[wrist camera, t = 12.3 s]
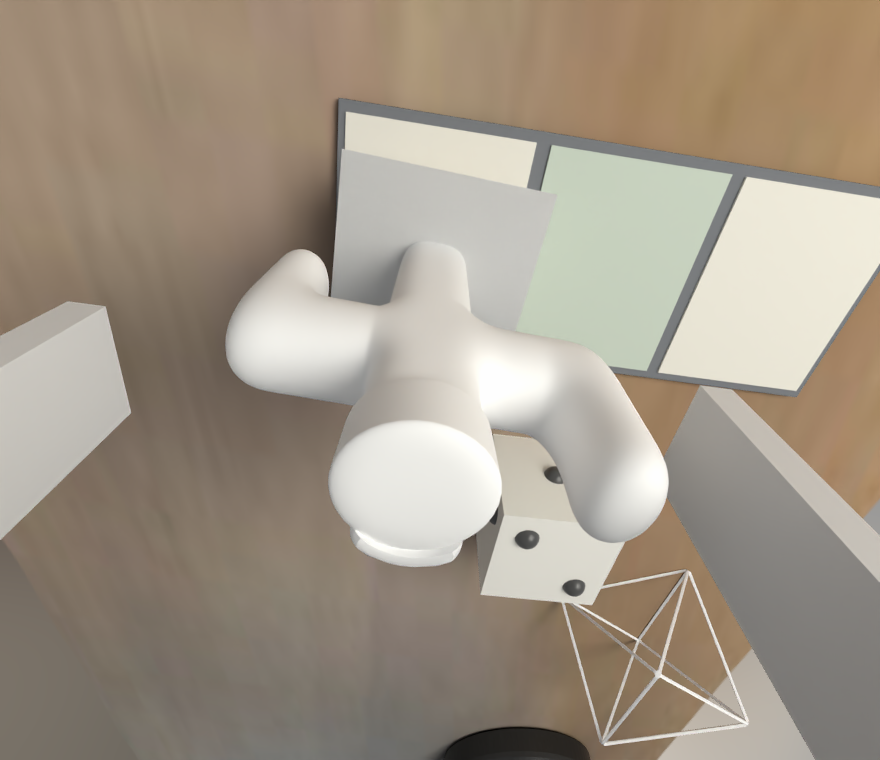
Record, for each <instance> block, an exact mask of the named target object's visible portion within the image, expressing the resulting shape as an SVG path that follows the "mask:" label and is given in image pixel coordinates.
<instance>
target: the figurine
mask: <svg viewBox="0 0 880 760" xmlns="http://www.w3.org/2000/svg"><path fill="white" fill-rule="evenodd" d="M556 198H557V195H556V194H552V193H547V192H542V191H538V190H533V189H528V188H524V187H519V186H514V185H510V184H505V183H500V182H496V181H491V180H486V179H482V178H477V177H472V176H468V175H463V174H458V173H454V172H449V171H444V170H439V169H435V168H430V167H425V166H421V165H416V164H411V163H407V162H402V161H397V160H393V159H388V158H383V157H379V156H374V155H369V154H365V153H360V152H355V151H351V150H346V149H342V154H341V168H340V181H339V194H338V208H337V221H336V235H335V248H334V262H333V275H332V289H331V297H328V293H329V280H328V274H327V270H326V267H325V265H324V263H323V262H322V260H321V259H320V258H319V257H318V256H317V255H316V254H314V253H313V252H311V251H308V250H304V249H298V250H293V251H291V252H288V253H287V254H285V255H284V256H283V257H282V258H281V259H280V260H279V261H278V262H277V263H275V264H274V265H273V266H272V267H271V268H270V269H269V270H268V271H267V272H266V273H265V274H264V275H263V276H262V277H261V278H260V279H259V280H258V281H257V282H256V283H255V284H254V285H253V286H252V287H251V288H250V289H249V290H248V291H247V293H246V294H245V295H244V296H243V298H242V299H241V300H240V302H239V303H238V305H237V307H236V308H235V310H234V312H233V314H232V317H231V319H230V322H229V324H228V329H227V334H226V342H225V347H226V355H227V360H228V363H229V365H230V367H231V369H232V370H233V372H234V373H235V374H236V376H237V377H238V378H240V379H241V380H242V381H243V382H245V383H246V384H248V385H250V386H252V387H255V388H258V389H261V390H265V391H269V392H275V393H281V394H287V395H293V396H299V397H305V398H311V399H317V400H323V401H329V402H335V403H341V404H347V405H353V407H352V409H351V411H350V413H349V415H348V417H347V419H346V422H345V425H344V428H343V431H342V434H341V437H340V440H339V443H338V446H337V449H336V452H335V455H334V458H333V461H332V464H331V467H330V471H329V475H328V488H329V492H330V497H331V500H332V502H333V505H334V507H335V509H336V511H337V512H338V513H339V515H340V516H341V517H342V519H343V520H344V521H345V522H346V523H347V524H348V525H349V526H350V537H351V539H352V541H353V543H354V545H355V546H356V548H358V549H359V550H360V551H362V552H363V553H365V554H366V555H367V556H370V557H373V558H376V559H379V560H381V561H384V562H387V563H390V564H395V565H400V566H409V567H424V566H438V565H442V564H445V563H449V562H452V561H453V560H454V559H455V558H456V557H457V555H458V554H459V552H460V549H461V547H462V542H463V540H465V539H467V538H469V537H470V536H472V535H474V534H475V533H477V532H478V531H479V530H480V529H482V528H483V527H484V526H485V525H486V524H487V523H488V522H489V520H490V519H491V518H492V516H493V515H494V513H495V511H496V509H497V507H498V505H499V502H500V498H501V494H502V480H501V475H500V470H499V465H498V460H497V456H496V451H495V446H494V441H493V436H492V432H491V428H492V429H498V430H504V431H510V432H517V433H522V434H527V435H529V436H531V437H533V438H534V439H536V440H537V441H538V442H539V443H540V444H541V445H542V446H543V447H544V448H545V449H546V450H547V452H548V453H549V454H550V456H551V457H552V459H553V461H554V462H555V464H556V466H557V468H558V470H559V473H560V475H561V478H562V481H563V483H564V486H565V490H566V493H567V496H568V499H569V503H570V506H571V509H572V511H573V514H574V516H575V518H576V520H577V521H578V523H579V525H580V526H581V527H582V529H583V530H584V531H585V532H586V533H588V534H589V535H590V536H591V537H593V538H595V539H597V540H599V541H603V542H607V543H618V542H625V541H628V540H631V539H633V538H635V537H637V536H638V535H640V534H642V533H643V532H644V531H645V530H647V529H648V528H649V526H650V525H651V524H652V523H653V522H654V521H655V520H656V518H657V517H658V516H659V514H660V512H661V510H662V508H663V506H664V503H665V500H666V497H667V493H668V485H669V480H668V471H667V467H666V463H665V461H664V459H663V456H662V454H661V452H660V450H659V448H658V446H657V444H656V443H655V441H654V439H653V437H652V436H651V434H650V432H649V431H648V429H647V427H646V426H645V424H644V422H643V421H642V419H641V417H640V416H639V414H638V412H637V411H636V409H635V407H634V406H633V404H632V402H631V401H630V399H629V397H628V396H627V394H626V392H625V391H624V389H623V387H622V386H621V384H620V382H619V381H618V379H617V378H616V376H615V375H614V373H613V372H612V370H611V369H610V368H609V367H608V366H607V364H606V363H605V362H604V361H603V360H602V359H601V358H600V357H599V356H598V355H597V354H595V353H594V352H593V351H591V350H590V349H588V348H586V347H584V346H582V345H579V344H576V343H573V342H569V341H565V340H560V339H554V338H549V337H544V336H538V335H533V334H527V333H522V332H517V331H516V328H517V324H518V321H519V318H520V315H521V312H522V308H523V305H524V302H525V299H526V295H527V292H528V289H529V286H530V282H531V279H532V276H533V273H534V270H535V266H536V263H537V260H538V257H539V253H540V250H541V247H542V244H543V240H544V237H545V234H546V231H547V228H548V224H549V221H550V218H551V215H552V211H553V208H554V205H555V202H556Z"/></svg>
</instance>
